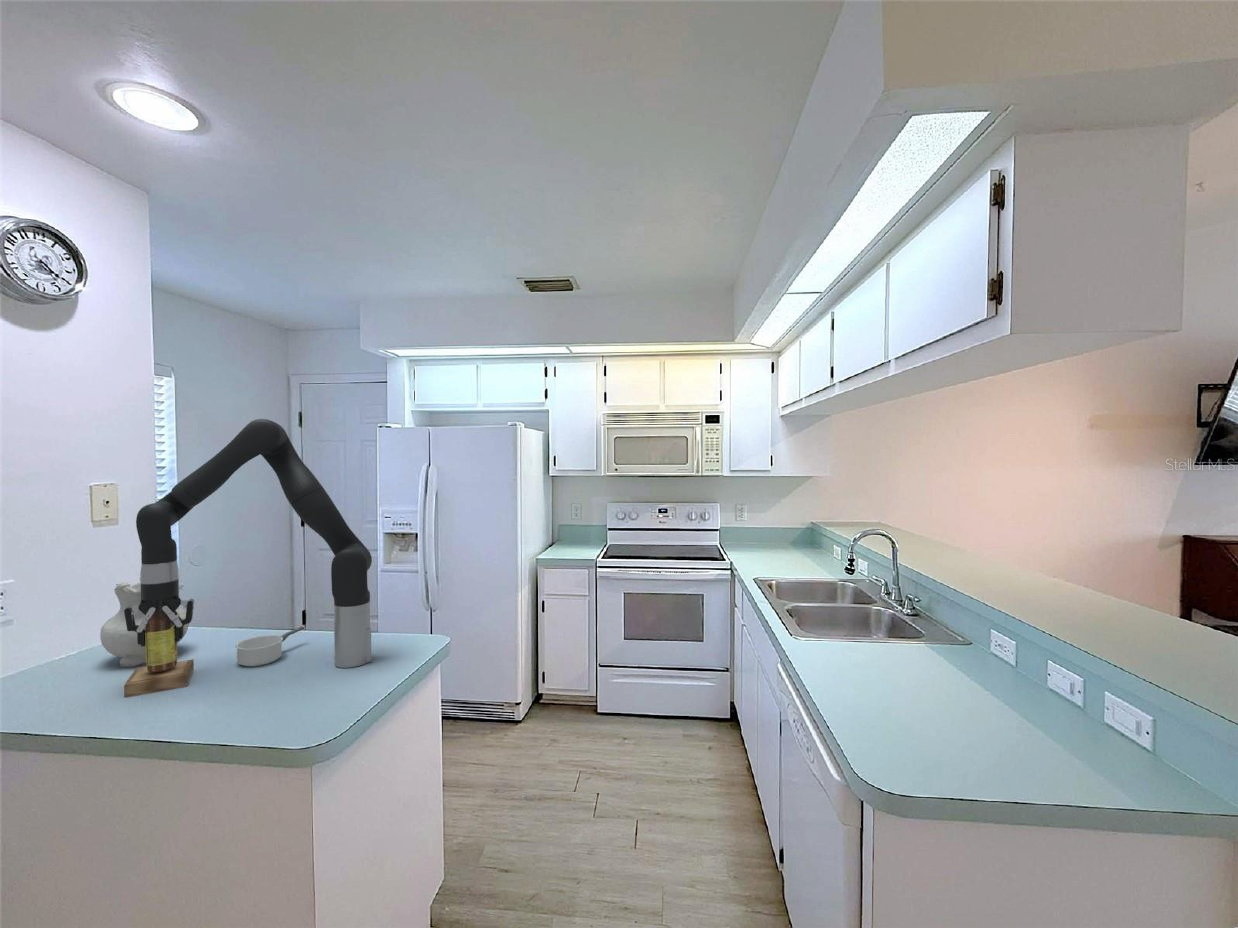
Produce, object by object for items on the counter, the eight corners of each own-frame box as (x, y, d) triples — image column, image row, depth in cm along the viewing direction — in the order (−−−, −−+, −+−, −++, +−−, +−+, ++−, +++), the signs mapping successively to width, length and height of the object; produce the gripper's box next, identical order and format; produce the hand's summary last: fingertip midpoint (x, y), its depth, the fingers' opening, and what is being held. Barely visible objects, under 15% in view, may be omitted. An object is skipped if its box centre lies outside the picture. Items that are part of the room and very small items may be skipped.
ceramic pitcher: (106, 657, 160) (95, 575, 158) (189, 637, 173) (180, 561, 171) (103, 681, 144) (91, 590, 142) (195, 657, 157) (185, 573, 155)
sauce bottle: (182, 666, 141) (181, 591, 141) (154, 675, 136) (152, 597, 135) (168, 661, 144) (167, 588, 144) (140, 670, 138) (139, 594, 138)
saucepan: (317, 646, 167) (317, 628, 167) (255, 671, 148) (255, 651, 148) (289, 642, 170) (289, 624, 170) (225, 665, 152) (225, 646, 151)
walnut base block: (193, 669, 148) (193, 658, 148) (186, 686, 138) (186, 673, 138) (136, 679, 142) (135, 667, 142) (124, 697, 132) (124, 684, 132)
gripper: (196, 573, 146) (197, 633, 147) (126, 579, 139) (127, 643, 139) (192, 578, 140) (193, 642, 140) (118, 585, 132) (120, 653, 133)
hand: (161, 642), depth 140 cm, fingers open, 6 cm apart
